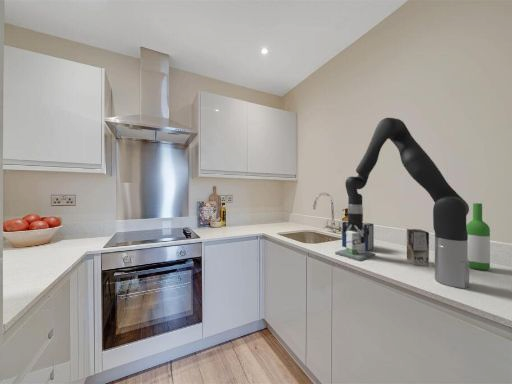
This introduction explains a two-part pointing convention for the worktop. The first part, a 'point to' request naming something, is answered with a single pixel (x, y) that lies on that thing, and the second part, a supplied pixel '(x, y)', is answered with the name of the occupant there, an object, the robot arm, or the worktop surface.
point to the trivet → (355, 255)
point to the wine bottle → (478, 240)
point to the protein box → (368, 239)
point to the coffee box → (418, 247)
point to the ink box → (354, 243)
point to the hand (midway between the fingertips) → (355, 241)
